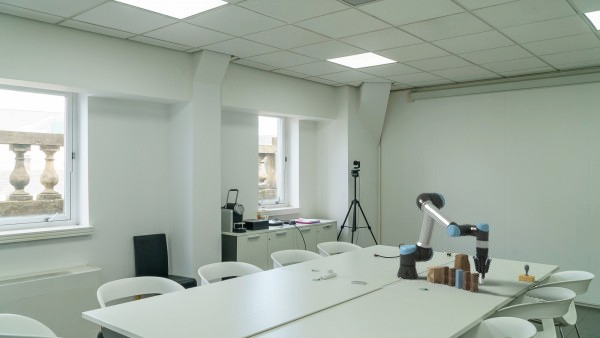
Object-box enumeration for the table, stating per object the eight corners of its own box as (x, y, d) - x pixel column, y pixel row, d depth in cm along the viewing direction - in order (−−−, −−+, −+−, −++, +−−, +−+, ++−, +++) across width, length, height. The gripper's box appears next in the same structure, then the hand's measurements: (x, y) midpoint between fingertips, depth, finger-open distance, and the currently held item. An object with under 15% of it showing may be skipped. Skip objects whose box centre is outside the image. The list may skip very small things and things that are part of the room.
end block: (427, 281, 330) (427, 267, 330) (438, 279, 337) (438, 265, 337) (433, 283, 325) (433, 269, 325) (445, 281, 332) (445, 267, 332)
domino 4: (462, 289, 308) (463, 271, 309) (467, 288, 311) (468, 271, 311) (465, 290, 307) (465, 272, 307) (470, 289, 309) (470, 271, 309)
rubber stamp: (534, 281, 339) (535, 264, 339) (533, 282, 334) (533, 266, 335) (520, 279, 345) (520, 263, 345) (518, 280, 341) (518, 264, 341)
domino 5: (470, 291, 303) (470, 273, 303) (475, 290, 306) (475, 272, 306) (473, 292, 302) (473, 274, 302) (478, 291, 304) (478, 273, 304)
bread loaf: (460, 284, 324) (461, 255, 324) (452, 281, 331) (453, 253, 331) (471, 282, 329) (472, 254, 329) (463, 280, 336) (464, 253, 336)
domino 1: (441, 283, 324) (441, 266, 324) (446, 283, 326) (446, 266, 326) (444, 284, 322) (444, 267, 322) (448, 283, 324) (449, 266, 325)
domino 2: (448, 285, 319) (448, 268, 319) (453, 284, 321) (453, 267, 321) (450, 286, 317) (451, 269, 317) (455, 285, 319) (456, 268, 319)
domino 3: (455, 287, 313) (455, 270, 314) (460, 286, 316) (460, 269, 316) (458, 288, 312) (458, 270, 312) (463, 287, 314) (463, 270, 314)
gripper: (470, 245, 303) (469, 281, 303) (487, 248, 292) (486, 286, 292) (477, 245, 307) (476, 280, 307) (494, 248, 296) (494, 284, 296)
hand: (481, 283), depth 299 cm, fingers closed
